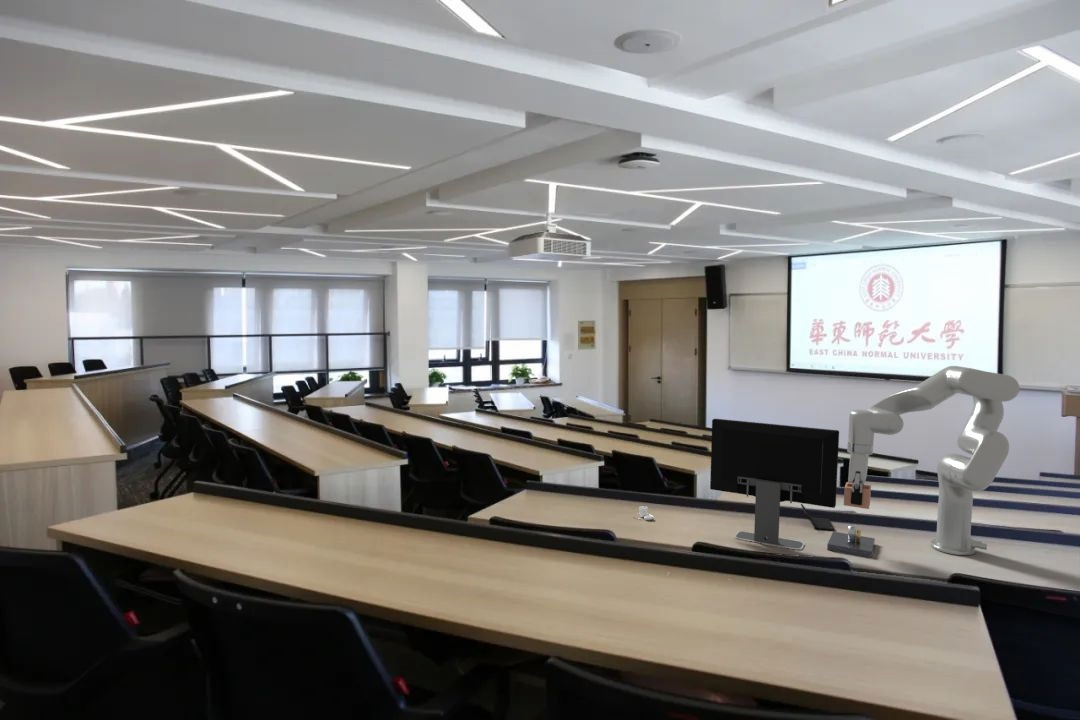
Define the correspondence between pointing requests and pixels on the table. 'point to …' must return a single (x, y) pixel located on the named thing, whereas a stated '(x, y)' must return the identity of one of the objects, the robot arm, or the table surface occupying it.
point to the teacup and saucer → (645, 513)
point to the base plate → (851, 543)
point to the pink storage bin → (865, 496)
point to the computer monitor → (774, 470)
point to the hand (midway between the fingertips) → (857, 500)
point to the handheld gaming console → (819, 522)
